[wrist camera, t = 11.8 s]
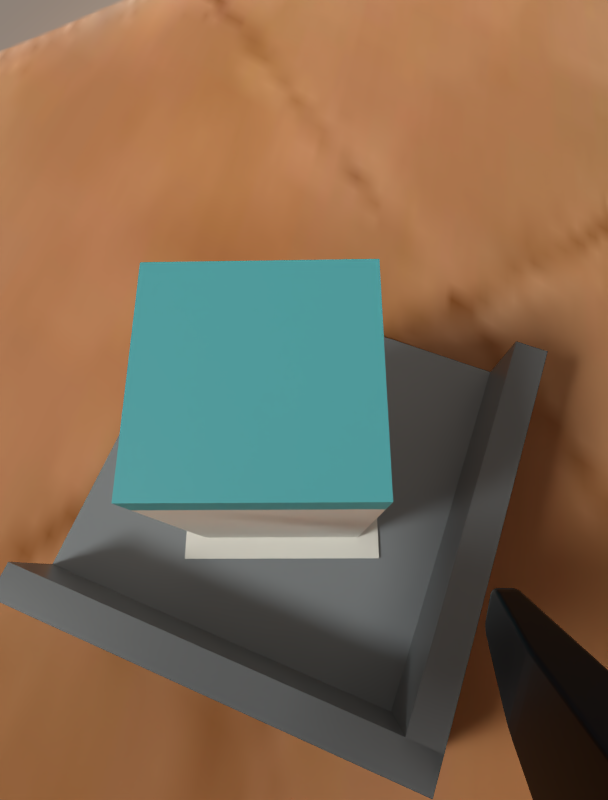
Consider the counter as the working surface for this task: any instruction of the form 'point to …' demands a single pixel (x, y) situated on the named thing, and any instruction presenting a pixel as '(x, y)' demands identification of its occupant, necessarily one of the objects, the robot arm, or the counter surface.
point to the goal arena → (320, 581)
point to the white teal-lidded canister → (257, 399)
